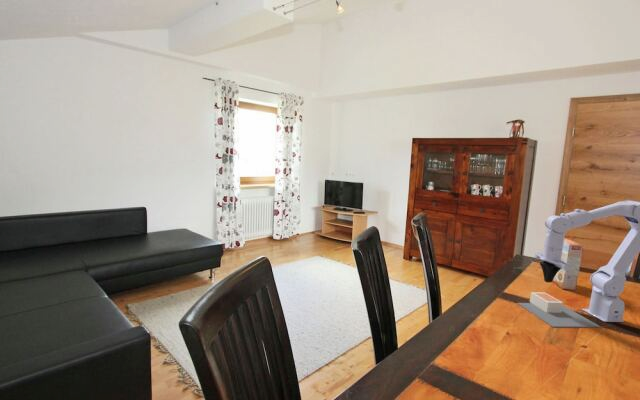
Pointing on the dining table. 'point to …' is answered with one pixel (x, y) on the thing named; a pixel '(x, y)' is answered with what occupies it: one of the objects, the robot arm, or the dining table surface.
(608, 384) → the dining table surface
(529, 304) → the mat
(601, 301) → the robot arm
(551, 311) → the marked block
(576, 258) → the cracker box
